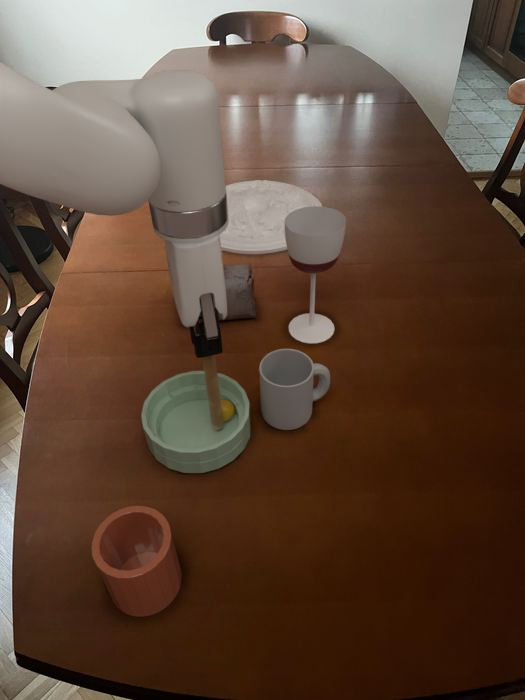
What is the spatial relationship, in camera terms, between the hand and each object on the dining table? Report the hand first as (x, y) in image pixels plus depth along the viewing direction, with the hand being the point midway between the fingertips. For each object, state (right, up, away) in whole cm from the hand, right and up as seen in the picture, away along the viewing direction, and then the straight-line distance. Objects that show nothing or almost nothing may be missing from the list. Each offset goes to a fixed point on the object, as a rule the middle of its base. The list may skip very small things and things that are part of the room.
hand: (207, 347), depth 70 cm
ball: (+1, -9, +11) cm, 14 cm away
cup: (+11, -9, +14) cm, 20 cm away
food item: (-1, +6, +30) cm, 31 cm away
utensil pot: (-6, -26, -4) cm, 27 cm away
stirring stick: (+1, -11, +10) cm, 15 cm away
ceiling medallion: (+5, +27, +53) cm, 60 cm away
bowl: (-2, -12, +11) cm, 16 cm away
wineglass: (+15, +3, +27) cm, 31 cm away
